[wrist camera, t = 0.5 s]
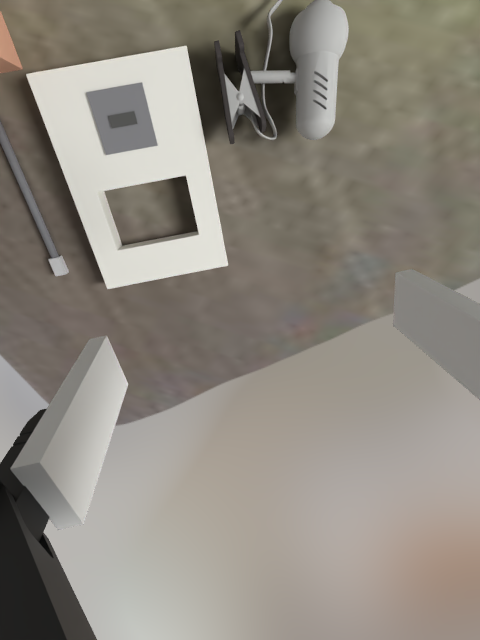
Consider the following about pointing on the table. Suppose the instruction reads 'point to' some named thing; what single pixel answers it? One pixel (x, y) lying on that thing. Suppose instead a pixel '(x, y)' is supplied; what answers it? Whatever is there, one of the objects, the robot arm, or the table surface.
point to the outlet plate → (132, 155)
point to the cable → (32, 206)
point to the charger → (7, 50)
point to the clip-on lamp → (310, 76)
